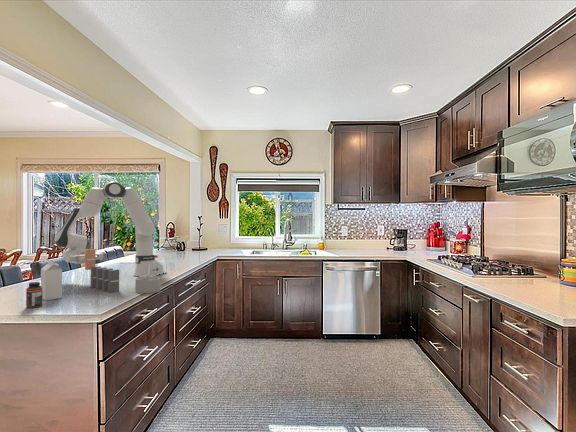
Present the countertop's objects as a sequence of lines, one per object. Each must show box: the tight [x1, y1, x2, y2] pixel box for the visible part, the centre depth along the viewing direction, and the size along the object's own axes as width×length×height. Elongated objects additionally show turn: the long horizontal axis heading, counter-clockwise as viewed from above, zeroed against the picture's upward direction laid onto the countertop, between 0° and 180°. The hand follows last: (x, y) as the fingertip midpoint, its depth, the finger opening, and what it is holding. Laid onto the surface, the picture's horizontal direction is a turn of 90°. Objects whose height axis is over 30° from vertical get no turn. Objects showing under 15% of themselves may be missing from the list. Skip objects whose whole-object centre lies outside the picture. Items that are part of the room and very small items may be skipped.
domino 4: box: [107, 269, 120, 294], centre depth 184 cm, size 2×5×12 cm, turn 146°
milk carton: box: [40, 260, 63, 302], centre depth 168 cm, size 7×7×19 cm
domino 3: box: [101, 267, 114, 292], centre depth 187 cm, size 2×5×12 cm, turn 146°
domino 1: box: [90, 265, 102, 289], centre depth 195 cm, size 2×5×12 cm, turn 146°
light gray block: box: [134, 275, 161, 294], centre depth 187 cm, size 10×13×9 cm
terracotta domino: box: [84, 248, 96, 271], centre depth 198 cm, size 2×5×12 cm, turn 146°
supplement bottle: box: [25, 281, 43, 309], centre depth 153 cm, size 6×6×11 cm
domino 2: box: [95, 267, 108, 291], centre depth 191 cm, size 2×5×12 cm, turn 146°
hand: (91, 258), depth 197 cm, fingers closed on terracotta domino, 5 cm apart
